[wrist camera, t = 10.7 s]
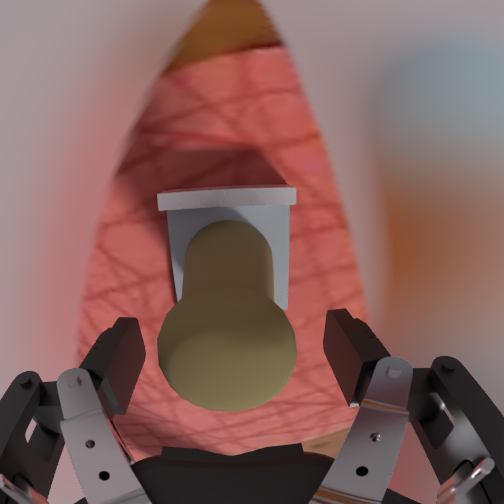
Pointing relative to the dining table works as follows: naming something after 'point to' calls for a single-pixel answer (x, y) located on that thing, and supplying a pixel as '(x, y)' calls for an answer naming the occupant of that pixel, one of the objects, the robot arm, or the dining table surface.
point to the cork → (227, 323)
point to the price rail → (227, 196)
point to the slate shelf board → (261, 217)
